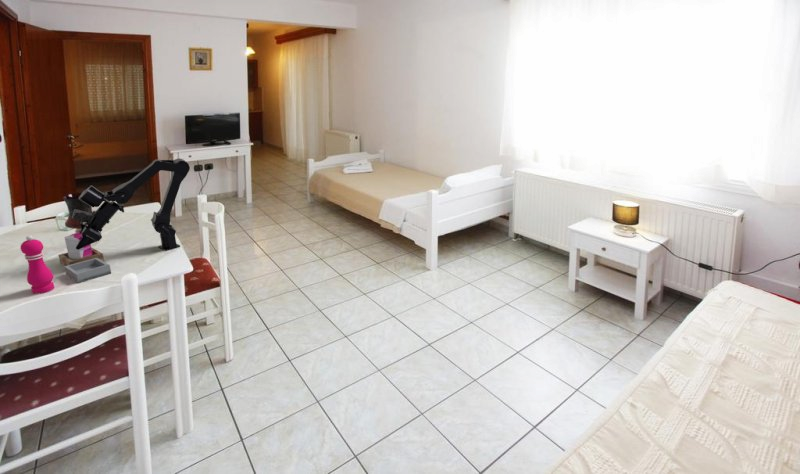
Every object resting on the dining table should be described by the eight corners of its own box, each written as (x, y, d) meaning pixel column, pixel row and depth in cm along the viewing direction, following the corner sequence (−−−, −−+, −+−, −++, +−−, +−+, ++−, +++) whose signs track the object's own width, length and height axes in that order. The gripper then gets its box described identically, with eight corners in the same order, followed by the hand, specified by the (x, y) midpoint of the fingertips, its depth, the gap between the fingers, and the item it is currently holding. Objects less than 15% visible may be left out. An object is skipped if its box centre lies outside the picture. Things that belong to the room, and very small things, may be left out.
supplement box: (82, 266, 179) (76, 238, 175) (69, 264, 180) (63, 237, 176) (94, 260, 185) (88, 233, 181) (82, 258, 186) (76, 232, 182)
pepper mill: (39, 285, 163) (24, 232, 156) (60, 284, 164) (47, 232, 157) (25, 294, 156) (9, 239, 149) (48, 294, 157) (33, 239, 150)
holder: (104, 261, 184) (102, 253, 182) (71, 270, 175) (69, 262, 174) (92, 254, 190) (90, 246, 189) (60, 263, 181) (58, 254, 180)
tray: (111, 273, 173) (109, 264, 172) (78, 283, 165) (76, 274, 164) (98, 265, 180) (96, 257, 178) (66, 275, 171) (64, 266, 170)
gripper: (82, 196, 184) (55, 227, 182) (84, 208, 170) (55, 241, 167) (109, 212, 191) (83, 242, 189) (113, 224, 177) (85, 257, 174)
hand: (76, 245), depth 179 cm, fingers open, 9 cm apart
